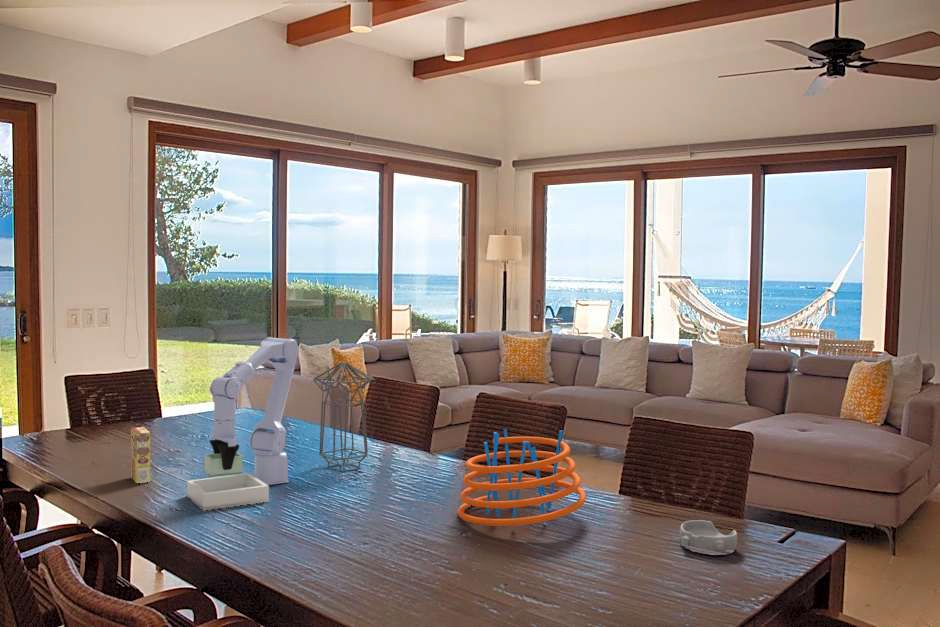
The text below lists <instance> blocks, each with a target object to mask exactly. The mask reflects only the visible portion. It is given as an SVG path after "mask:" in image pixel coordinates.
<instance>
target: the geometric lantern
mask: <svg viewBox="0 0 940 627" xmlns="http://www.w3.org/2000/svg"><path fill="white" fill-rule="evenodd" d="M329 372H330V373H329ZM328 373H329V374H328ZM326 374H328V375H327V376H325V377H324V378H323V377H322V376H324V375H326ZM335 374H336V376H335ZM343 374H344V375H343ZM348 374H349V375H348ZM334 376H335V377H334ZM333 377H334V379H333ZM349 377H350V378H351V379H352V381H351V380H349ZM344 380H346V381H344ZM357 380H358V381H357ZM374 380H375V378H374V377H372V376H370V375H369V374H367V373H365V372H364V371H362V370H361V369H359V368H356V367H355V366H354V365H352V364H350V363H349V362H343V361H342V362H339V363H338V364H336V365H334V366H332V367H331V368H329V369H328V370H326V371H324V372H323V373H321V374H319V375H317V376H315V377H314V378H312V381H313V382H314V383H315V384H316V386H318V388H319V389H320V390H321V391H322V395H321V404H320V405H321V406H320V407H321V408H320V410H321V411H320V428H319V429H320V431H319V436H320V437H319V451H318V452H319V453H318V454H319V456H320V457H322V458H323V459H324V460H325V461H326V462H327V468H328V469H331V468H332V469H331V470H334V469H335V470H334V471H337V470H338V471H337V472H340V471H345V472H349V471H348V470H350V471H354V469H356V470H360V469H359V467H360V468H361V462H362V461H363V460H364V459H366V458H367V456H369V453H368V452H369V450H368V437H367V436H368V434H367V419H366V418H367V417H366V401H364V398H363V396H364V395H363V389H365V388H366V386H367V385H368V384H369V383H370V382H371V381H374ZM362 383H363V384H362ZM335 384H336V385H335ZM343 384H347V385H348V386H349V389H348V388H347V387H346V386H344V385H343ZM351 384H355V385H356V389H352V388H351ZM320 385H321V386H320ZM323 385H324V386H325V389H324V386H323ZM339 386H341V387H342V388H343V389H344V390H345V391H346V394H345V395H344V394H343V392H342V391H341V390H340V388H339ZM331 388H332V389H333V388H335V389H337V390H338V391H339V393H340V394H341V396H343V398H342V399H334V397H333V396H332V394H331V392H330V389H331ZM360 390H361V392H360ZM324 392H326V395H325V399H324ZM353 392H354V393H353ZM357 392H358V393H357ZM349 393H353V395H352V396H351V398H350V399H349V398H347V395H348V394H349ZM356 394H358V396H359V398H360V400H357V399H354V397H355V395H356ZM328 397H330V399H331V400H328ZM343 401H345V403H344V404H342V403H343ZM336 402H339V403H338V404H336ZM348 402H350V403H349V404H348ZM353 402H359V403H353ZM332 403H333V404H332ZM341 404H342V405H341ZM326 405H329V406H333V437H332V438H333V441H332V442H333V445H332V448H333V449H332V450H328V451H323V450H324V435H325V423H326V422H325V421H326V419H325V417H326ZM356 405H360V410H361V411H360V412H361V420H362V421H361V424H362V435H363V445H364V446H363V447H364V451H363V450H359V449H356V448H354V425H353V424H354V423H353V419H354V418H353V406H356ZM348 406H350V429H351V430H350V431H351V448H347V423H348V422H347V419H348V418H347V413H348V412H347V411H348ZM337 407H338V408H339V409H338V412H339V432H340V434H339V435H340V436H339V437H340V438H339V440H340V448H338V449H336V422H337V421H336V416H337V415H336V414H337V411H336V410H337ZM342 407H345V409H344V445H343V427H342ZM343 451H344V452H343ZM347 451H350V453H349V455H348V456H347V455H346V454H347ZM336 452H340V453H341V454H340V455H341V457H339V458H336ZM353 452H358V453H361V454H362V455H353V456H351V455H352V453H353ZM329 453H332V457H331V456H328V455H325V454H329ZM356 458H361V459H356ZM329 459H330V460H329ZM341 460H342V463H340V462H339V461H341ZM349 460H352V461H354V462H349ZM346 461H347V462H346ZM330 464H331V465H330ZM341 464H342V465H341ZM357 464H358V465H357ZM336 465H337V466H339V469H337V468H334V467H336ZM348 465H349V466H353V465H354V467H356V466H357V467H356V468H350V469H346V470H345V466H348ZM330 466H331V467H330ZM342 468H343V470H342Z"/></svg>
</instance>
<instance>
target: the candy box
mask: <svg viewBox="0 0 940 627" xmlns="http://www.w3.org/2000/svg"><path fill="white" fill-rule="evenodd" d="M130 478H131V479H132V480H133V481H134V482H135V484H136V483H137V485H138V483H140V484H147V482H148V483H151V432H150V431H149V430H148V429H147V428H146V427H144V426H141V427H130Z"/></svg>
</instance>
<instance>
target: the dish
mask: <svg viewBox="0 0 940 627" xmlns="http://www.w3.org/2000/svg"><path fill="white" fill-rule="evenodd" d="M680 540H681V543H682V544H683V545H685V546H687V545H688V546H692V547H696V548H700V549H706V550H712V551H726V550H731V549H733V548H735V547H736V548H737V544H738V532H737V530H735V529H733V530H732V531H731V532H730V533H729V534H726V535H725V534H723V533H721V532H720V531H719V530H718V529H717V528H716V527H715V525H714V523H713V522H712V521H711V520H704V519H702V520H701V519H697V520H696V519H692V520H686V521H684V522H683V523H681V525H680V527H679V541H680ZM681 543H680V544H681Z"/></svg>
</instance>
